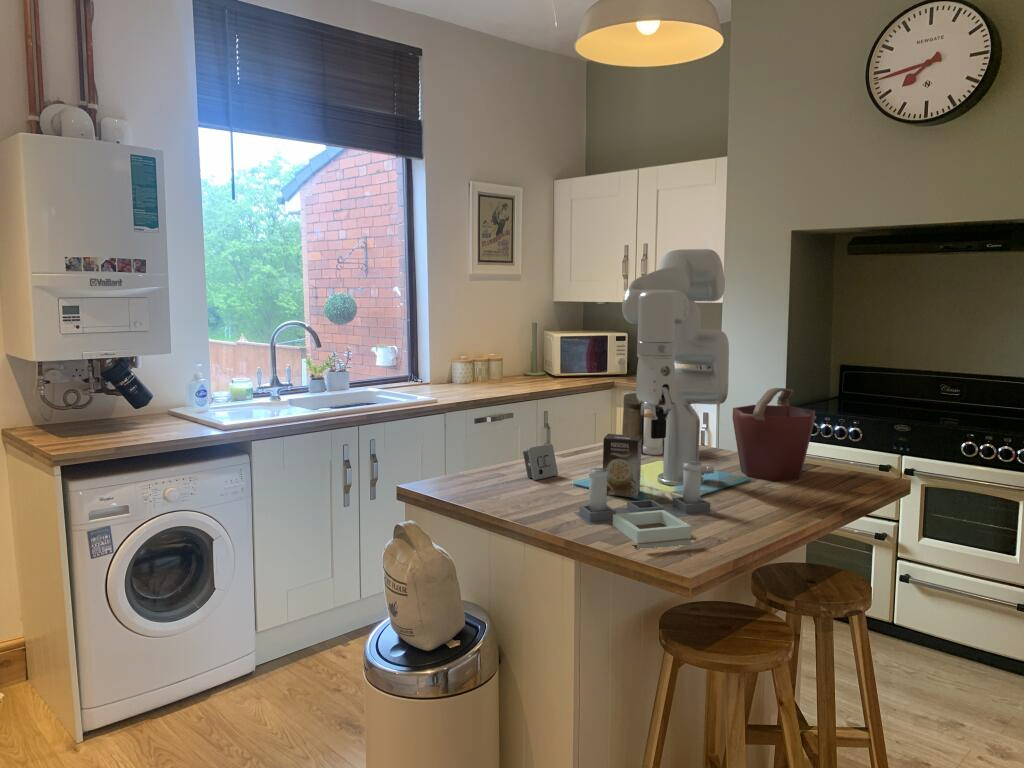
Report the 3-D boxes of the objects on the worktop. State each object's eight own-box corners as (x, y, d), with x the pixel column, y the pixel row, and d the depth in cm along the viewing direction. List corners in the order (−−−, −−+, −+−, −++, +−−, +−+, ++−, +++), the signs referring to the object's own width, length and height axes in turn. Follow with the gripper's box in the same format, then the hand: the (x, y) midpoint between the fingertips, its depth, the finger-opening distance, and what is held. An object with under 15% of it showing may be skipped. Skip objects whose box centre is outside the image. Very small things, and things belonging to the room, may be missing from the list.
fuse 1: (602, 513, 181) (603, 467, 179) (609, 518, 177) (610, 471, 175) (585, 515, 180) (586, 468, 178) (592, 520, 176) (593, 472, 174)
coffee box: (600, 499, 198) (601, 437, 196) (606, 493, 204) (607, 433, 202) (636, 503, 195) (638, 440, 193) (640, 496, 201) (642, 435, 199)
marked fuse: (657, 450, 168) (658, 399, 167) (666, 454, 164) (667, 402, 163) (639, 451, 167) (640, 400, 165) (648, 455, 163) (649, 403, 161)
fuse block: (695, 507, 191) (695, 493, 191) (716, 519, 181) (717, 504, 181) (573, 518, 182) (573, 503, 182) (589, 531, 173) (589, 516, 172)
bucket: (766, 461, 241) (769, 381, 238) (832, 475, 223) (837, 389, 220) (715, 473, 226) (718, 388, 223) (782, 488, 209) (786, 396, 205)
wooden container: (658, 456, 248) (659, 388, 245) (614, 451, 255) (616, 385, 252) (673, 448, 260) (675, 383, 258) (631, 443, 268) (633, 380, 265)
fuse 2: (694, 505, 188) (695, 460, 186) (703, 510, 184) (705, 464, 182) (678, 506, 186) (680, 462, 185) (687, 511, 182) (688, 465, 181)
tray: (663, 527, 176) (663, 509, 175) (690, 544, 164) (691, 526, 163) (612, 531, 172) (613, 514, 172) (637, 550, 160) (637, 531, 160)
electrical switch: (534, 481, 217) (532, 448, 216) (522, 479, 220) (520, 447, 220) (558, 476, 223) (556, 443, 222) (546, 474, 227) (544, 442, 226)
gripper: (691, 353, 156) (688, 442, 158) (653, 346, 172) (651, 428, 174) (657, 353, 154) (655, 444, 156) (622, 347, 170) (620, 430, 172)
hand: (653, 435), depth 165 cm, fingers closed on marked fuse, 4 cm apart
